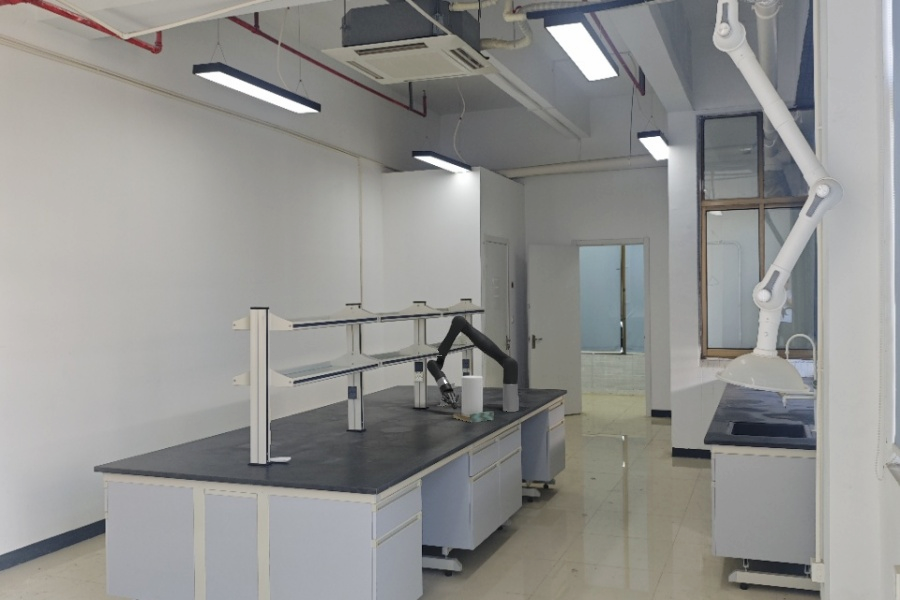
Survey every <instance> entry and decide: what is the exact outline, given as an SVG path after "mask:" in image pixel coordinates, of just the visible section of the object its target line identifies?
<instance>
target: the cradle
mask: <svg viewBox="0 0 900 600" xmlns="http://www.w3.org/2000/svg"><path fill="white" fill-rule="evenodd" d="M494 414H495V412H494V411H483V412H481V413H472V414H470V417H469V416H465V415H462V414H460V413H456V412H455V413H453V419H454V418H456V419H455V420H458V419H460V420H459V421H462V420H463V422H466V421H467V423H470V422H471V424H472V422H474V423H481V421H482V422H488V421H487V420H491V421H494V420H495V419H494V417H495V416H494Z"/></svg>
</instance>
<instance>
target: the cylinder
mask: <svg viewBox="0 0 900 600" xmlns="http://www.w3.org/2000/svg"><path fill="white" fill-rule="evenodd" d="M483 381H484V377H483V375H462V376H461V415H465V416H469V417H470V414H472V413H481V412H484V411H483V409H484V408H483V407H484V406H483V404H484V403H483V402H484V401H483V398H484V397H483V396H484V394H483V393H484V391H483V390H484V388H483V387H484V382H483Z"/></svg>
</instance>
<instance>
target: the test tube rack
mask: <svg viewBox="0 0 900 600" xmlns="http://www.w3.org/2000/svg"><path fill="white" fill-rule="evenodd" d="M450 385H451V386H452V388H453V392H454V393H455V394H456V388H458V387H459V385H456V384H455V383H454V382H452V383H450ZM436 391H439V392H440V390H439V389H436ZM439 396H440V397H439V399H440V400H439V403H440V404H438V405H436V407H437V406H445V405H448V404H447V403H445V402H444V401H443V400H441V398H442V396H443V395H442V394H441V392H440V394H439ZM447 402H448V401H447ZM448 406H449V405H448ZM445 407H446V406H445Z"/></svg>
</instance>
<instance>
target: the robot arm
mask: <svg viewBox="0 0 900 600" xmlns="http://www.w3.org/2000/svg"><path fill="white" fill-rule="evenodd" d="M450 322H451V323H450V326H449V329H448V332H447V333H446V335H445V337H444V338H443V340H442V341H441V343H440V344H439V346H438V348H437V349H436V351H437V350H438V351H439V353H440V354H439V355H442V356H437V357H436V359H435V360H434V359H429V360H428V361H427V362H426V368H427V370H428V372H429V374H430V375H431V376H432V377H433V378H434V380H435V382H436V385H437V388H438V390H440V391H439V392H441V394H442V395H443V396H442V398H441V400H443V401H444V402H445V403H447V404H450V405H449V406H451V408H452V409H453V410H454V411H455V410H457V409H458V404H457V403H458V402H457V401H459V399H460V398H459V397H460V395H459V394H456V392H455V393H454V392H453V388H452V386H451V385H450V384H451V382H450V380H449V379H448V378H447V376H446V374H445V373H444V371H442V370H443V369H444V365H445V360H446V358H447V356H448V354H449V353H450V350H451V349H452V347H453V345H454V343H455V341H456V339H457V337H458V336H459V334H460V333H462V335H465V336H466V337H467V339H469V340H470V342H471V343H472V344H473V345H474V346H475V347H476V348H477V349H478V350H479V351H481V352H482V353H484V354H485V355H486V356H488V357H489V358H490V359H492V360H494V361H496V362H497V364H499V365H500V366H501V367H502V369H503V371H502V372H503V373H502V375H503V377H502V411H503V412H506V411H507V413H512V412H513V413H514V412H517V411H519V410H520V407H519V405H520V404H519V403H520V401H519V400H520V399H519V398H520V396H519V395H518V394H519V393H518V391H519V390H518V381H519V364H518V362H517V360H516V359H515V358H513V357H512V356H511V355H510V356H509V354H507V353H505V352H504V351H502V349H501V348H500V347H499V346H498V345H497V344H496V343H495V342H494V341H493V340H492V339H491V338H489V337H488V336H487V335H485V334H484V333H483V332H481V331H480V330H478V329H477V328H475V327H474V326H473V325H472V324H471V323H470V322H469V321H468V320H467V319H466V318H465V317H464V316H463V315H458V314H457V315H455V316H454V317H453V318H452V319H451V321H450ZM447 401H448V402H447Z"/></svg>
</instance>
